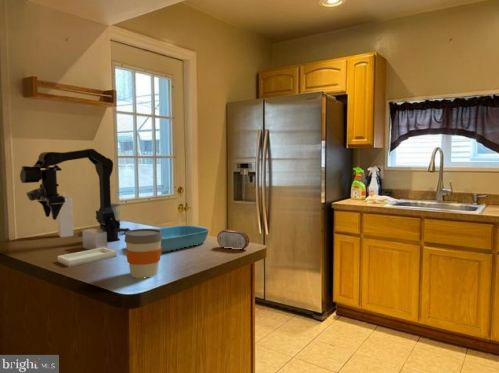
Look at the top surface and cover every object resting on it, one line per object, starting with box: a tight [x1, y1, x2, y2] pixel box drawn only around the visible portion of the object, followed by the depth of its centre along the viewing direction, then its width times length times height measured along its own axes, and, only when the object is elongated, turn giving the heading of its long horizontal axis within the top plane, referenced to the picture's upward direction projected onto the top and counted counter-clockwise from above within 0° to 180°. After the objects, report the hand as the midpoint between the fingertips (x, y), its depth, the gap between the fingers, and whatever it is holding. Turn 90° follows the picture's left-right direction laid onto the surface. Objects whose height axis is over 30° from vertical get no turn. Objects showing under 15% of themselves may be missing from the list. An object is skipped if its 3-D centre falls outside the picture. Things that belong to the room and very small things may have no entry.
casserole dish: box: [157, 224, 210, 253], centre depth 175 cm, size 37×22×7 cm, turn 140°
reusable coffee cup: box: [124, 228, 162, 279], centre depth 132 cm, size 13×13×15 cm
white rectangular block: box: [82, 228, 108, 250], centre depth 167 cm, size 5×12×8 cm, turn 49°
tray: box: [57, 247, 117, 268], centre depth 151 cm, size 19×10×2 cm, turn 139°
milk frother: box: [99, 203, 131, 234], centre depth 202 cm, size 14×16×15 cm
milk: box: [57, 192, 74, 238], centre depth 192 cm, size 6×6×22 cm
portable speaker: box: [217, 228, 250, 250], centre depth 169 cm, size 15×3×8 cm, turn 65°
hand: (51, 218), depth 162 cm, fingers open, 9 cm apart
